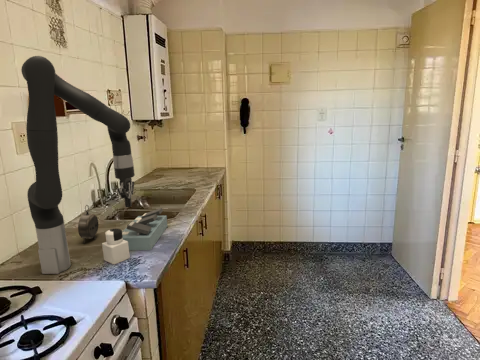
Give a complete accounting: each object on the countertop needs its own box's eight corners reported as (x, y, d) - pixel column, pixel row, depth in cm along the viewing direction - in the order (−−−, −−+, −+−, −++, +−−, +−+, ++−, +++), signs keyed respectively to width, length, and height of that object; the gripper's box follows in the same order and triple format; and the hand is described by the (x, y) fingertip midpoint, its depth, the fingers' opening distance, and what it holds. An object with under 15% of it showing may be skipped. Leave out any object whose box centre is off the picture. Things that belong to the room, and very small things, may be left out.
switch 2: (154, 220, 150) (152, 217, 150) (135, 227, 151) (134, 223, 151) (157, 217, 155) (156, 213, 155) (139, 223, 156) (138, 219, 156)
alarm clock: (91, 234, 160) (86, 201, 157) (102, 234, 160) (97, 201, 156) (79, 244, 150) (73, 209, 146) (91, 244, 149) (86, 208, 146)
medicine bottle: (120, 253, 139) (116, 225, 136) (130, 258, 135) (126, 229, 132) (103, 260, 134) (99, 231, 131) (113, 265, 129) (109, 235, 127)
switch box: (150, 249, 141) (149, 234, 140) (117, 250, 142) (115, 235, 141) (167, 226, 168) (166, 213, 166) (139, 226, 168) (137, 213, 167)
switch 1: (160, 214, 159) (158, 210, 159) (142, 220, 160) (140, 216, 160) (162, 210, 164) (161, 207, 163) (145, 216, 165) (144, 213, 165)
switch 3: (147, 234, 142) (148, 231, 142) (126, 228, 142) (127, 225, 142) (151, 230, 147) (152, 226, 147) (130, 224, 147) (131, 220, 146)
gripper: (126, 168, 132) (132, 211, 136) (138, 162, 145) (142, 201, 149) (107, 169, 132) (113, 212, 136) (120, 162, 145) (125, 202, 149)
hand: (128, 206), depth 142 cm, fingers closed
